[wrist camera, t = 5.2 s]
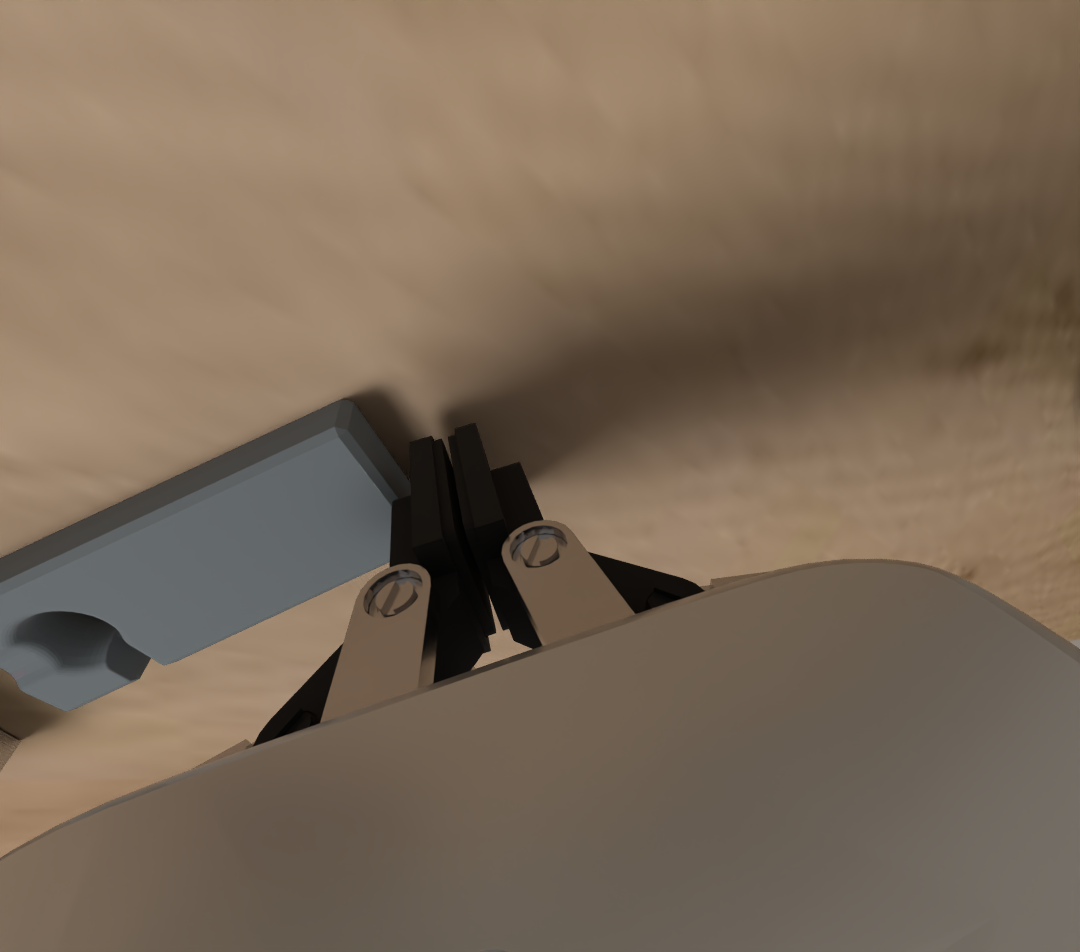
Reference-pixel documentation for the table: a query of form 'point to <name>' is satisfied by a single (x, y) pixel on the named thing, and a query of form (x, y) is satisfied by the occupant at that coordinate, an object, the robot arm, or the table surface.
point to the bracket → (198, 557)
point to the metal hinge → (6, 747)
